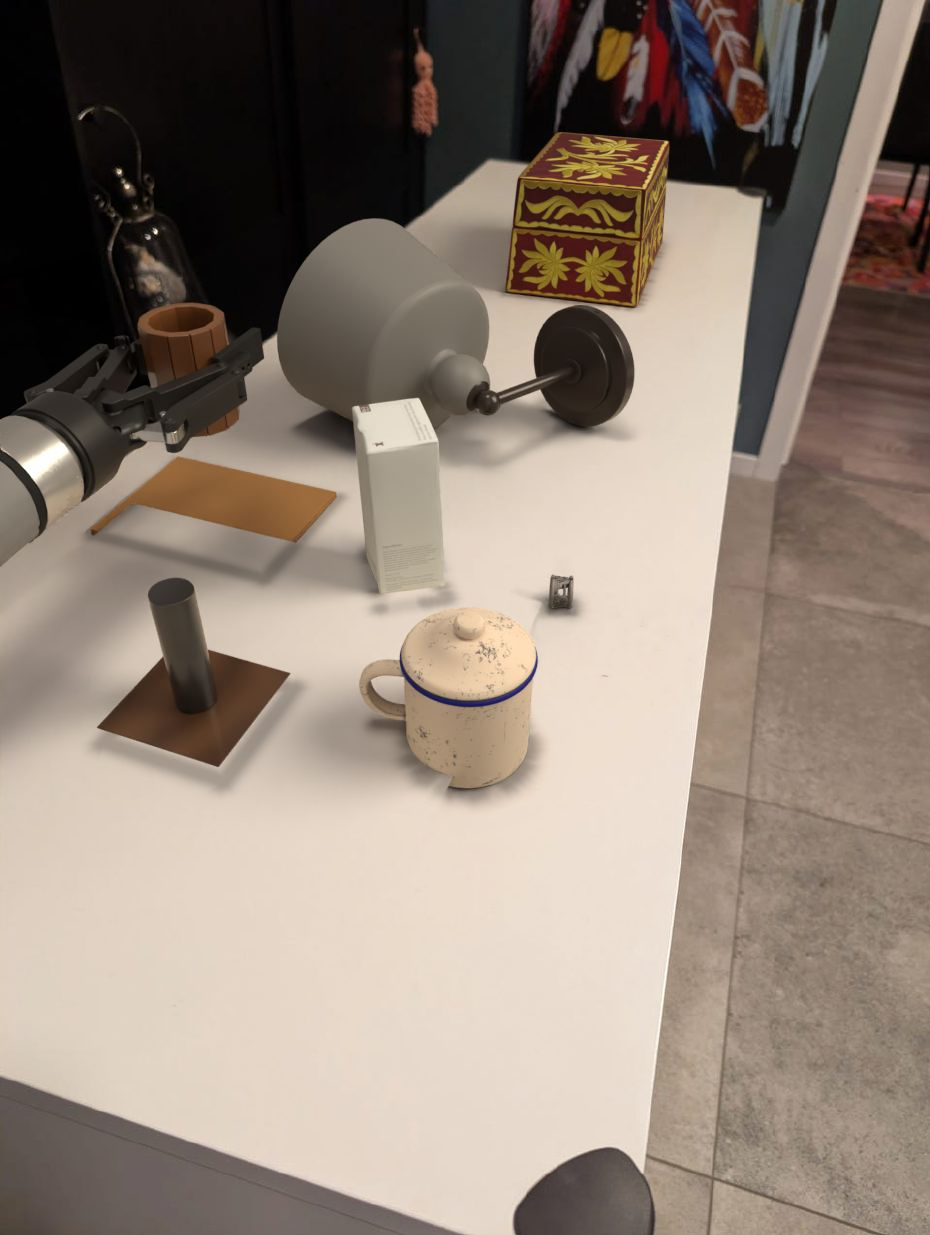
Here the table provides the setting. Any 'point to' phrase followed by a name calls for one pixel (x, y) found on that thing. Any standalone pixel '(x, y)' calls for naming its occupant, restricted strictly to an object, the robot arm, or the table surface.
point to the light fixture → (430, 336)
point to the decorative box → (589, 219)
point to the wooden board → (230, 499)
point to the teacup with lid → (463, 693)
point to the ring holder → (192, 686)
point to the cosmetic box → (400, 494)
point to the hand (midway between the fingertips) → (220, 336)
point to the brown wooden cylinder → (184, 346)
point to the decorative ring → (563, 583)
